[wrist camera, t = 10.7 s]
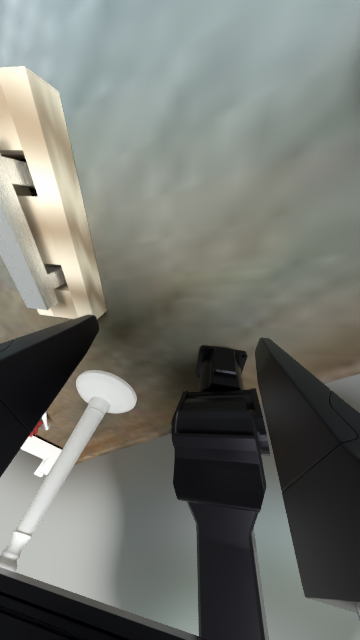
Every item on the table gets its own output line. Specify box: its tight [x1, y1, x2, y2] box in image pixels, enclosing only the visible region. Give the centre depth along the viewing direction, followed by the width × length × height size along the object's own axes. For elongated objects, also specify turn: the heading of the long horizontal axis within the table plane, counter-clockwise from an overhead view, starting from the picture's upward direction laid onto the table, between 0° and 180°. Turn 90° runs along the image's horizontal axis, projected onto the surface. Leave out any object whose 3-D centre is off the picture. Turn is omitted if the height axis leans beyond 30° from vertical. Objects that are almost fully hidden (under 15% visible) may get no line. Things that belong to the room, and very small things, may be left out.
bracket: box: [20, 436, 62, 477], centre depth 58 cm, size 13×7×8 cm, turn 47°
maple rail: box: [0, 66, 107, 319], centre depth 19 cm, size 20×8×3 cm, turn 178°
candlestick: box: [0, 370, 137, 572], centre depth 24 cm, size 13×13×30 cm
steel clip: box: [0, 154, 67, 310], centre depth 17 cm, size 14×2×6 cm, turn 178°
